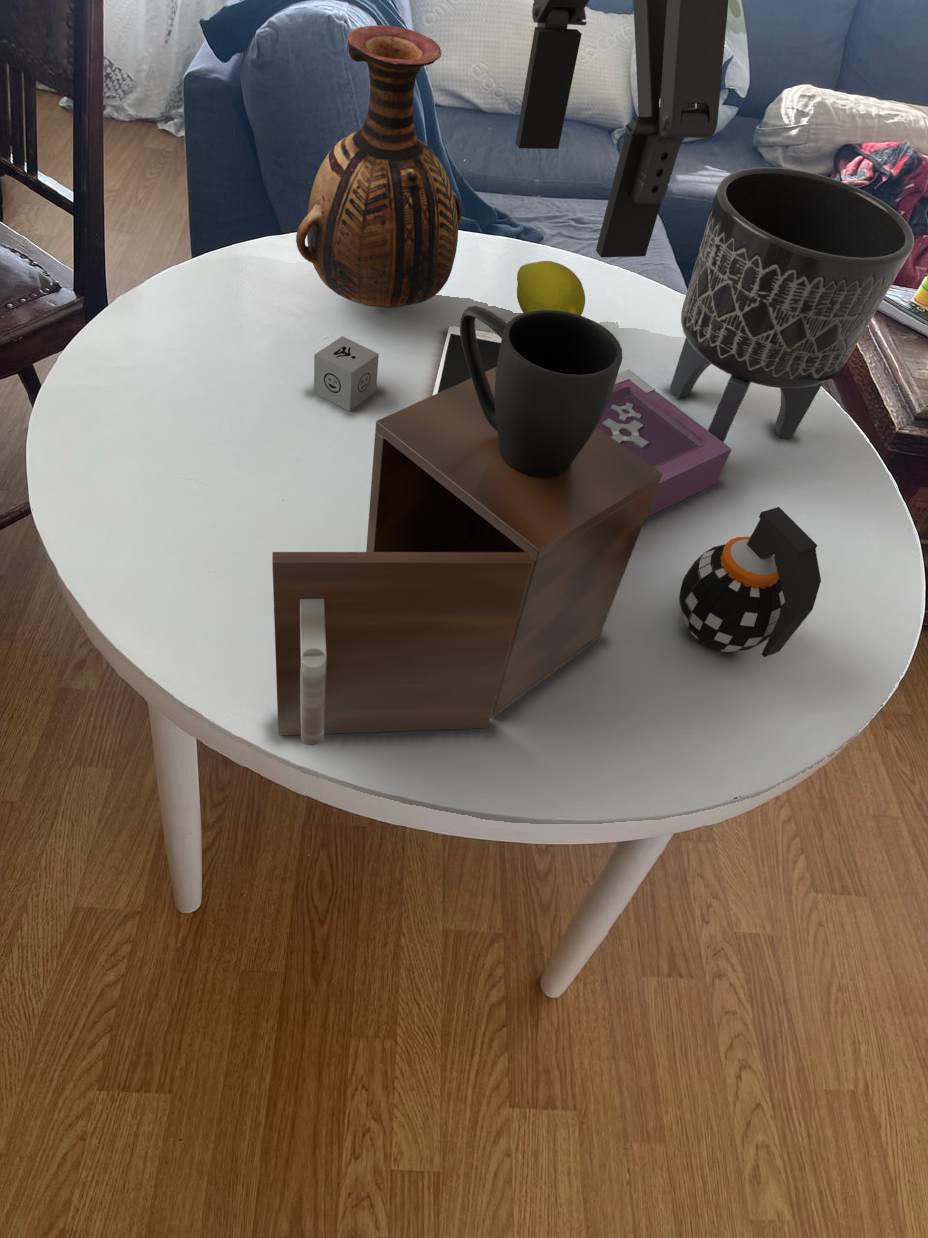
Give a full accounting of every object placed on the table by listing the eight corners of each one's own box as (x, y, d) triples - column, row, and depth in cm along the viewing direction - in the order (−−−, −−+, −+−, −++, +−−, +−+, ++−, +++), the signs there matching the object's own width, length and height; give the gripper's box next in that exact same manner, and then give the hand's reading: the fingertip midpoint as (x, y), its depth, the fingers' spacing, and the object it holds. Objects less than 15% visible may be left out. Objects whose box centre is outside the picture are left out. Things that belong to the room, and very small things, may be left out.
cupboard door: (498, 789, 71) (549, 629, 56) (278, 800, 68) (271, 633, 53) (485, 718, 75) (530, 551, 61) (278, 725, 72) (272, 551, 58)
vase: (439, 267, 124) (470, 16, 102) (475, 342, 113) (518, 79, 91) (282, 268, 118) (278, 3, 96) (304, 347, 107) (305, 68, 85)
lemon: (590, 341, 117) (606, 284, 111) (539, 351, 114) (553, 292, 108) (547, 298, 123) (560, 241, 117) (498, 306, 119) (508, 248, 113)
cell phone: (428, 415, 102) (429, 408, 101) (448, 331, 114) (449, 324, 113) (505, 429, 102) (507, 422, 101) (517, 344, 114) (519, 337, 113)
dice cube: (340, 373, 105) (342, 335, 101) (375, 391, 103) (378, 353, 100) (314, 392, 102) (314, 354, 98) (349, 411, 100) (351, 372, 97)
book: (618, 405, 108) (629, 369, 104) (717, 483, 101) (732, 447, 97) (450, 471, 96) (456, 433, 92) (549, 565, 89) (560, 528, 85)
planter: (775, 386, 116) (872, 177, 96) (824, 488, 103) (948, 270, 83) (628, 374, 113) (697, 156, 93) (660, 477, 100) (748, 249, 80)
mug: (484, 385, 72) (504, 274, 65) (609, 455, 69) (645, 345, 61) (420, 427, 68) (433, 313, 61) (550, 506, 64) (581, 393, 57)
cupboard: (492, 719, 76) (539, 550, 61) (362, 598, 82) (375, 420, 68) (598, 640, 83) (663, 472, 68) (470, 535, 90) (504, 362, 75)
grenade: (796, 669, 84) (872, 556, 73) (718, 700, 80) (786, 586, 69) (721, 585, 90) (781, 468, 79) (646, 610, 86) (698, 492, 75)
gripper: (942, -249, 31) (727, 306, 47) (647, -333, 46) (559, 110, 62) (757, -281, 29) (597, 312, 45) (510, -358, 44) (455, 108, 60)
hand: (575, 196), depth 54 cm, fingers open, 13 cm apart
